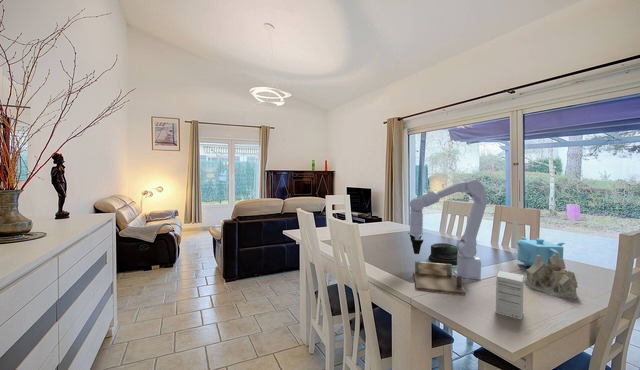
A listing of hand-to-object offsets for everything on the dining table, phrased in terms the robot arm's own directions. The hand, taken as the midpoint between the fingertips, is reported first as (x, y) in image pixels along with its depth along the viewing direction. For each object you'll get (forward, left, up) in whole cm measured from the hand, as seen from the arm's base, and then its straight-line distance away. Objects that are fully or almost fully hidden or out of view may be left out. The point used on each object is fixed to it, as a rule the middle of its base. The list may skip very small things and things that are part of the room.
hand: (416, 251), depth 135 cm
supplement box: (-28, +34, -10) cm, 45 cm away
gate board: (-8, +13, -10) cm, 18 cm away
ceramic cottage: (-52, +7, -10) cm, 53 cm away
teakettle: (-60, -23, -10) cm, 65 cm away
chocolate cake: (-16, -21, -10) cm, 28 cm away
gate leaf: (-7, +6, -8) cm, 12 cm away
